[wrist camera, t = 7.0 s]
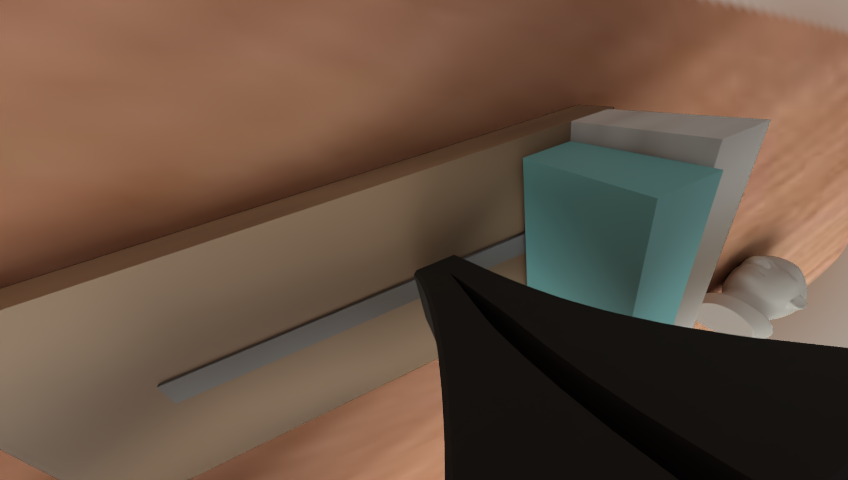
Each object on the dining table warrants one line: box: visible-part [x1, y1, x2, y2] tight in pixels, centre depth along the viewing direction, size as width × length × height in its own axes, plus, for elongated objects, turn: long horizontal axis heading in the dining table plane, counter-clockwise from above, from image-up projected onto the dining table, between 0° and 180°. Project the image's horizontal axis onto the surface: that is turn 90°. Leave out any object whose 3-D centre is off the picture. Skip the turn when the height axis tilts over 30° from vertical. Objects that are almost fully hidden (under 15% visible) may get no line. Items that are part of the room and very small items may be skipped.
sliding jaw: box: [523, 141, 723, 325], centre depth 9 cm, size 6×2×4 cm, turn 12°
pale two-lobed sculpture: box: [696, 256, 807, 339], centre depth 21 cm, size 4×8×5 cm
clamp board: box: [0, 105, 770, 480], centre depth 9 cm, size 8×19×6 cm, turn 102°
